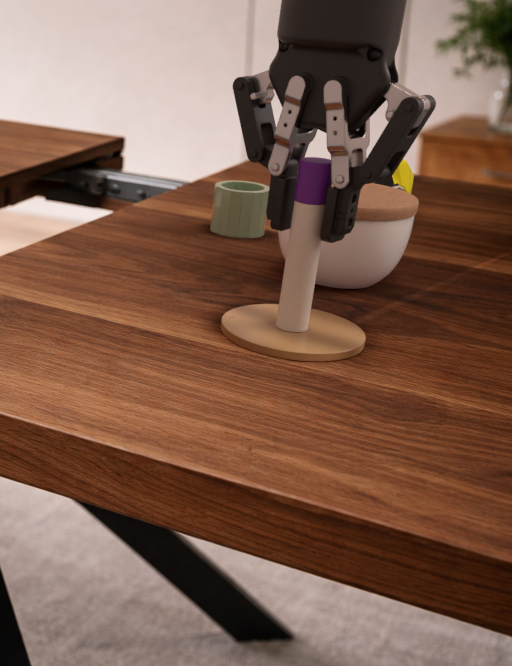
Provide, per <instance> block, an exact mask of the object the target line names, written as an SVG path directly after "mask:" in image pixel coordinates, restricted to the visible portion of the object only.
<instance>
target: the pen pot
mask: <svg viewBox="0 0 512 666" xmlns="http://www.w3.org/2000/svg"><path fill="white" fill-rule="evenodd" d="M269 188H270V185H266V184H264V183H260V182H255V181H248V180H233V179H232V180H221V181H217V182H216V183H214V189H213V197H212V206H211V214H210V225H209V229H210V232H212V233H215V234H216V235H219V236H224V237H227V238H228V237H229V238H237V239H254V238H261V237H263V236H264V235H265V233H266V229H267V221H268V219H267V214H266V209H267V204H268V203H267V202H268V195H269Z"/></svg>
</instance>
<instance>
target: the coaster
mask: <svg viewBox="0 0 512 666" xmlns="http://www.w3.org/2000/svg"><path fill="white" fill-rule="evenodd" d="M278 308H279V303H260V304H259V303H258V304H257V303H256V304H255V303H254V304H248V305H241V306H238V307H233V308H231V309H230V310H228V311H226V312H224V314H223V315H222V317H221V320H220V330H221V333H222V334H223V335H224V336H225V337H226V339H228V340H229V341H231V342H232V343H234V344H236V345H237V346H240V347H242V348H244V349H247V350H249V351H252V352H255V353H258V354H261V355H265V356H268V357H274V358H279V359H284V360H290V361H300V362H333V361H341V360H346V359H350V358H352V357H355V356H357V355H358V354H360V353H361V352H362V351H363V350H364V348H365V345H366V338H367V336H366V334H365V332H364V331H363V329H362V328H361V327H360V326H358V325H357V324H356V323H354V322H352V321H350V320H348V319H346V318H344V317H342V316H340V315H336V314H334V313H330V312H328V311H324V310H321V309H317V308H312V307H311V311H310V318H309V324H308V329H307V330H306V331H304V332H289V331H285V330H282V329H280V328H278V327H277V326H276V321H277V315H278Z"/></svg>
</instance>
